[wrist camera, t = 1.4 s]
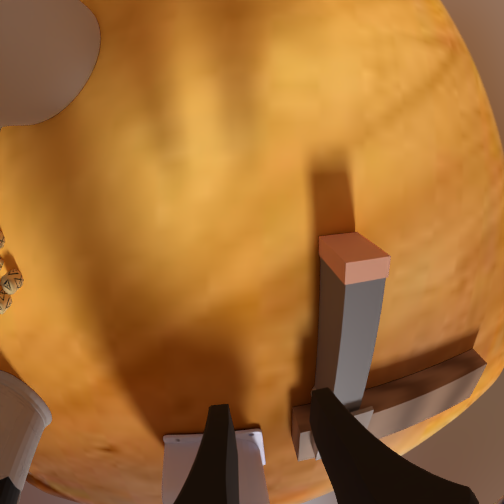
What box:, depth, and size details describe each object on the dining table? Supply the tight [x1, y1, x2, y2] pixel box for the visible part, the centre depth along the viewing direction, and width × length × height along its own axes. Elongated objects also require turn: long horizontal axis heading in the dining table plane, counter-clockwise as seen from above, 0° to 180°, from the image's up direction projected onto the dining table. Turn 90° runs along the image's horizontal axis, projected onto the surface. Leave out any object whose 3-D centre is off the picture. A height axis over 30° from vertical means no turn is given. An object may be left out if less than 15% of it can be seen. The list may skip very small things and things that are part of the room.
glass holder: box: [0, 370, 52, 504], centre depth 14 cm, size 9×14×15 cm, turn 162°
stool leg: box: [311, 232, 391, 412], centre depth 18 cm, size 15×3×4 cm, turn 5°
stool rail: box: [292, 349, 487, 461], centre depth 22 cm, size 22×10×5 cm, turn 95°
